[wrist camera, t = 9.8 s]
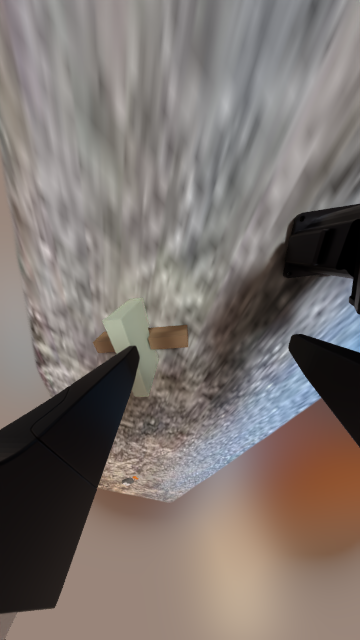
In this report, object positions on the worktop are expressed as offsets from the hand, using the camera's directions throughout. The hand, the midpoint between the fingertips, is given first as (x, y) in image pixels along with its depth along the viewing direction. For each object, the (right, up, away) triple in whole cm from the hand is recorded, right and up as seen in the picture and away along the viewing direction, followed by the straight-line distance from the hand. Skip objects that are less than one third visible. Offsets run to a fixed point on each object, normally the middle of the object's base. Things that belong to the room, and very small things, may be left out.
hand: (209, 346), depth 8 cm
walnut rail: (-8, -1, +14) cm, 16 cm away
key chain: (-21, -63, +47) cm, 81 cm away
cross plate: (-7, -1, +14) cm, 16 cm away
